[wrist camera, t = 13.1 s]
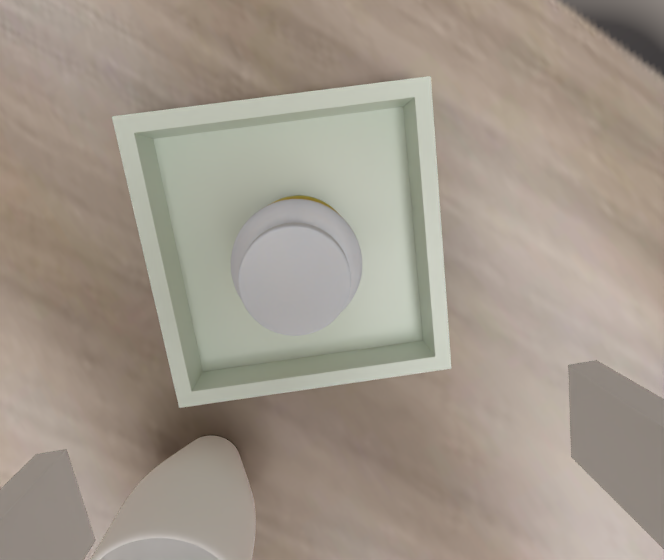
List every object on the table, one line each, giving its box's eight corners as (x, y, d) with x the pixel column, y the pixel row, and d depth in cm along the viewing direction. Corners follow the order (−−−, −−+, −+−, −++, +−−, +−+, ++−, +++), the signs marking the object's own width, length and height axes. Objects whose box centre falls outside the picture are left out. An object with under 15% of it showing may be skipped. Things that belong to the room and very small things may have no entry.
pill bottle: (279, 176, 27) (259, 169, 16) (365, 224, 28) (402, 249, 17) (235, 263, 29) (187, 313, 17) (319, 306, 30) (326, 380, 18)
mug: (185, 392, 31) (116, 508, 20) (285, 438, 32) (273, 571, 21) (119, 517, 33) (23, 685, 22) (216, 556, 34) (171, 734, 23)
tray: (193, 382, 31) (179, 407, 27) (137, 125, 27) (111, 116, 23) (435, 348, 31) (451, 368, 28) (415, 90, 27) (430, 76, 24)
